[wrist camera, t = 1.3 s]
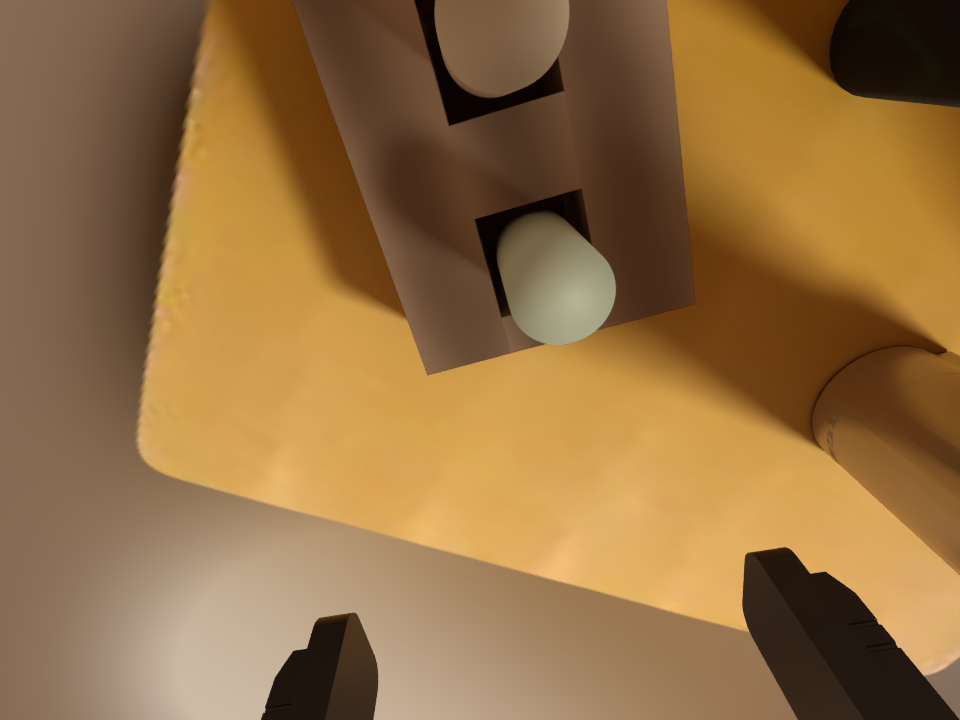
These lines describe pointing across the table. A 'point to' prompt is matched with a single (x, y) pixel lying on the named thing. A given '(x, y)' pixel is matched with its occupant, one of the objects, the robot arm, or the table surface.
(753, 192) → the table surface
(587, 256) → the peg sage
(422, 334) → the socket block
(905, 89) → the cup
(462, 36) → the peg birch
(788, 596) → the robot arm
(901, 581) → the table surface
